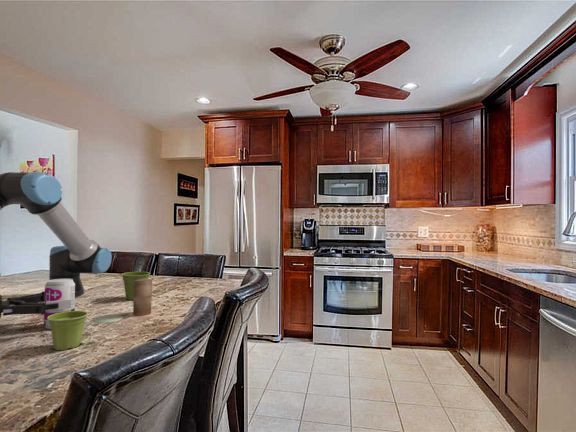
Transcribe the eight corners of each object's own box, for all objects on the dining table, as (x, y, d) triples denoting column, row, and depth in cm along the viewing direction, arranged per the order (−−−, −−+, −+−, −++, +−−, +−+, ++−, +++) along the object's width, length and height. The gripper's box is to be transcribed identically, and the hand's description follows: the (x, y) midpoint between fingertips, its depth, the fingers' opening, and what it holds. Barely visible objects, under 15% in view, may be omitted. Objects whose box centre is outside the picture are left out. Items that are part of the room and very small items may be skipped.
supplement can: (58, 331, 102) (59, 283, 103) (37, 328, 104) (38, 281, 104) (80, 323, 110) (81, 278, 111) (59, 321, 112) (60, 277, 112)
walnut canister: (131, 312, 119) (132, 279, 119) (148, 310, 122) (149, 278, 123) (135, 316, 114) (136, 282, 114) (153, 314, 118) (153, 280, 118)
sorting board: (89, 318, 115) (89, 315, 115) (149, 310, 127) (149, 306, 127) (96, 331, 102) (96, 327, 102) (161, 320, 115) (161, 316, 115)
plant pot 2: (142, 302, 139) (143, 275, 140) (115, 301, 140) (115, 275, 140) (154, 295, 151) (154, 271, 151) (129, 295, 152) (129, 271, 152)
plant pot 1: (59, 340, 95) (60, 310, 95) (93, 339, 95) (94, 310, 96) (37, 353, 85) (38, 320, 85) (75, 352, 86) (76, 319, 86)
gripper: (-12, 311, 106) (67, 302, 119) (-24, 333, 86) (72, 319, 99) (-11, 288, 106) (67, 282, 119) (-23, 305, 86) (73, 295, 99)
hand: (69, 299), depth 109 cm, fingers open, 13 cm apart
